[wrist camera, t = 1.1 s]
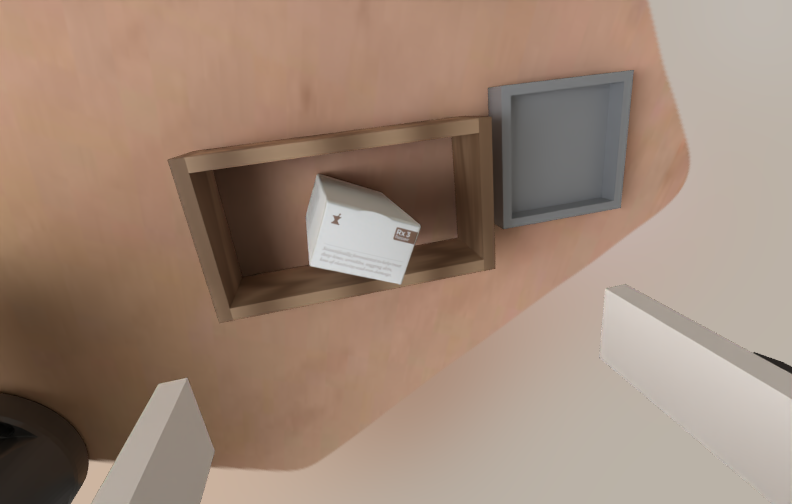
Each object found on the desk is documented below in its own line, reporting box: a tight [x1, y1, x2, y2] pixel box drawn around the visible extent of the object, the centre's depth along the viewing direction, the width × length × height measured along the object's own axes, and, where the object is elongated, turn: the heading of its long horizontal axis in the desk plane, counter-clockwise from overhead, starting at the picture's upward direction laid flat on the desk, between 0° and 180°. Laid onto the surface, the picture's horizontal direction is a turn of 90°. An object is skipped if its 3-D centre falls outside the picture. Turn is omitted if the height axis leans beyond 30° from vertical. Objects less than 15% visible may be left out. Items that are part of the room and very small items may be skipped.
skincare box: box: [306, 174, 421, 285], centre depth 29 cm, size 6×4×12 cm
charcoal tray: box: [488, 70, 634, 229], centre depth 35 cm, size 12×12×2 cm
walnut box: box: [168, 116, 495, 323], centre depth 31 cm, size 22×12×6 cm, turn 97°
